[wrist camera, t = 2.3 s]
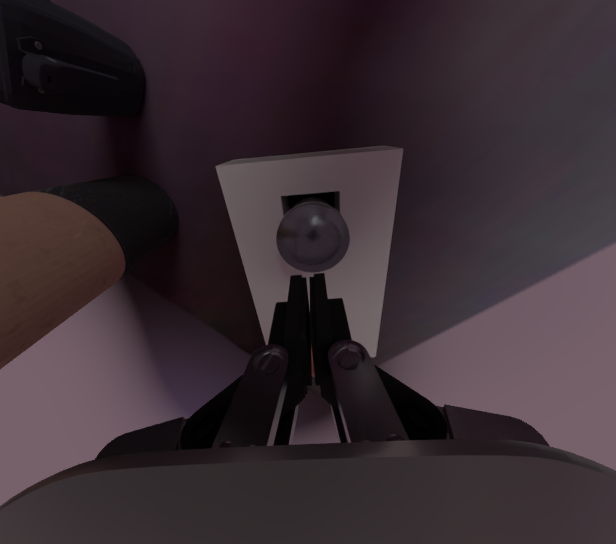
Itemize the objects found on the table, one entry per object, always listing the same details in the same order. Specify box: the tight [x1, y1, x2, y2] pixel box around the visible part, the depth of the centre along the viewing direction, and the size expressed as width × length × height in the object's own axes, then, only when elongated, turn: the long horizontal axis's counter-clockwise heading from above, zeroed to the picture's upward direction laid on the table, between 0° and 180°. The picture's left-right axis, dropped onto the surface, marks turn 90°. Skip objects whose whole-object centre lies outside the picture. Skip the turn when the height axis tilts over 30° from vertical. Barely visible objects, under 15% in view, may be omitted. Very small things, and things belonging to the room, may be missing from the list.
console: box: [215, 145, 403, 357], centre depth 25 cm, size 24×14×5 cm, turn 5°
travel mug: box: [0, 175, 178, 369], centre depth 15 cm, size 8×8×20 cm
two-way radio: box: [0, 0, 144, 116], centre depth 11 cm, size 6×4×15 cm
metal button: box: [276, 197, 350, 273], centre depth 17 cm, size 5×5×4 cm
